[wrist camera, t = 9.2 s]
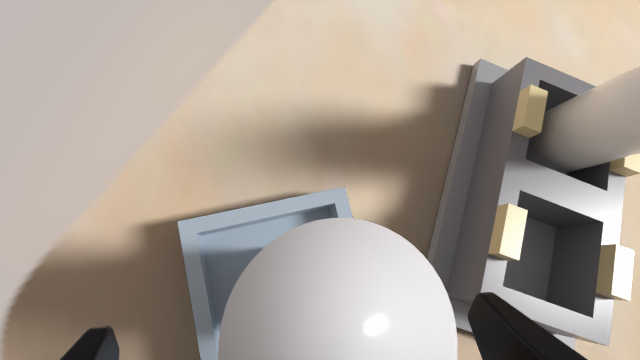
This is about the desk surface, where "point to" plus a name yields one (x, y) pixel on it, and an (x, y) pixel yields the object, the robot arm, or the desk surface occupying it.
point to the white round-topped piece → (338, 299)
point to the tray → (240, 251)
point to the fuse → (591, 127)
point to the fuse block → (530, 212)
